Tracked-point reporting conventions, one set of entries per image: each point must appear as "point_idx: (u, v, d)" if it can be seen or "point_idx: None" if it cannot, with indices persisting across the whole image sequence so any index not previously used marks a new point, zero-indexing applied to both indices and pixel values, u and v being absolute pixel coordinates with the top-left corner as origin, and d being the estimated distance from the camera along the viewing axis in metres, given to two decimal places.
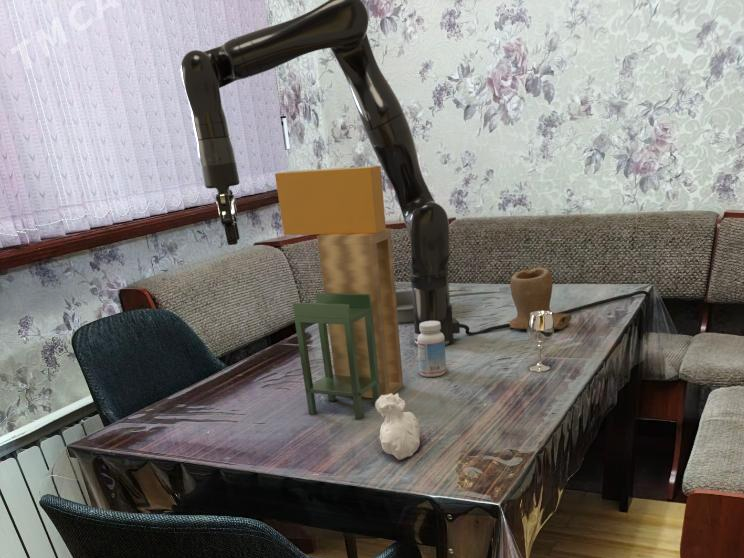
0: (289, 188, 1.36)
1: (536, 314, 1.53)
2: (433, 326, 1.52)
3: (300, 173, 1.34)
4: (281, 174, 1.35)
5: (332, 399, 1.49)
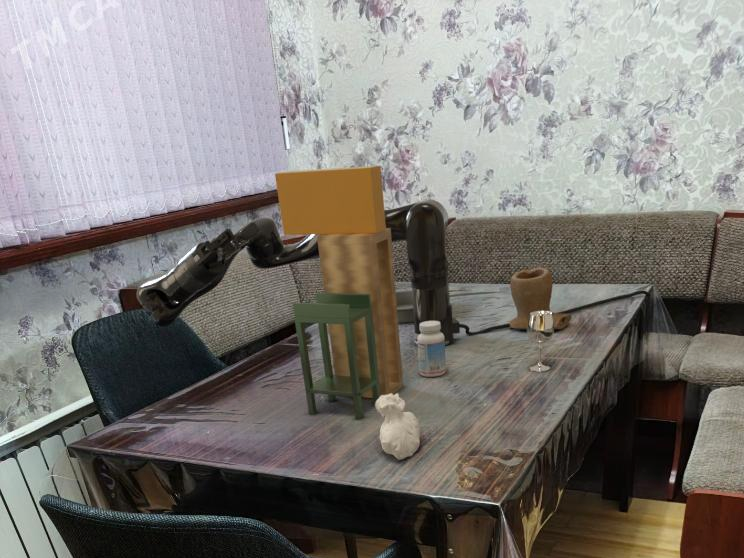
0: (289, 188, 1.36)
1: (536, 314, 1.53)
2: (433, 326, 1.52)
3: (300, 173, 1.34)
4: (281, 174, 1.35)
5: (332, 399, 1.49)
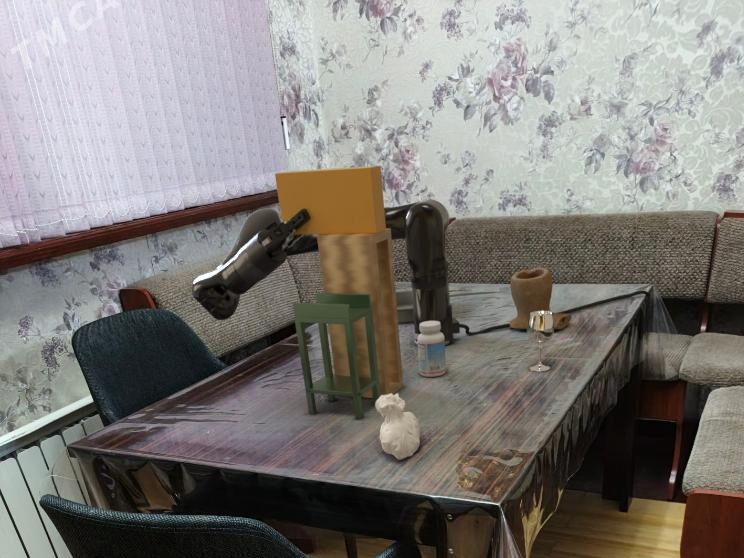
0: (289, 188, 1.36)
1: (536, 314, 1.53)
2: (433, 326, 1.52)
3: (300, 173, 1.34)
4: (281, 174, 1.35)
5: (332, 399, 1.49)
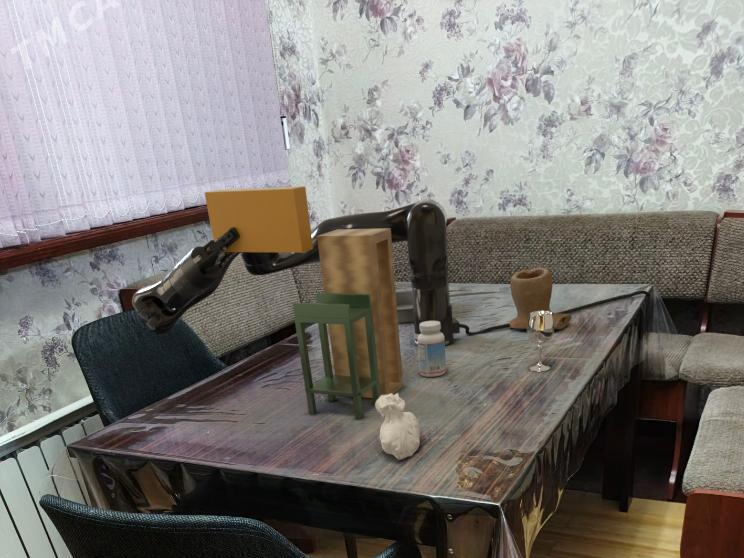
0: (218, 207, 1.38)
1: (536, 314, 1.53)
2: (433, 326, 1.52)
3: (228, 192, 1.36)
4: (210, 193, 1.37)
5: (332, 399, 1.49)
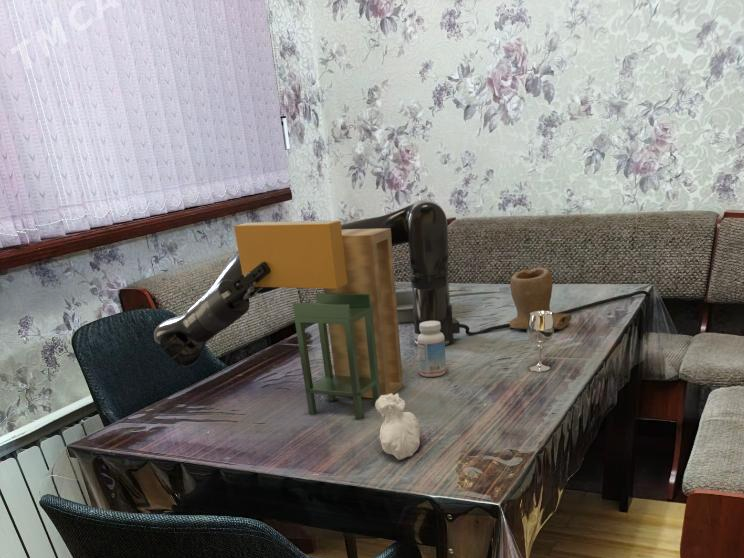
0: (248, 241, 1.33)
1: (536, 314, 1.53)
2: (433, 326, 1.52)
3: (259, 226, 1.30)
4: (240, 227, 1.32)
5: (332, 399, 1.49)
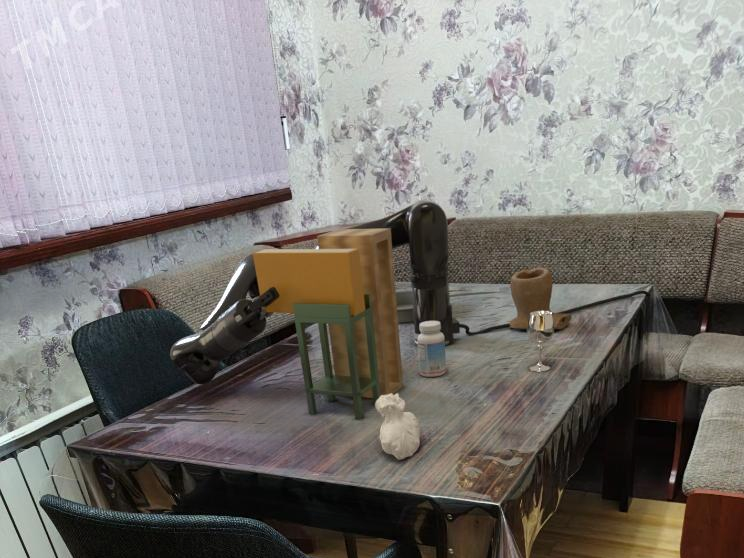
0: (267, 268, 1.34)
1: (536, 314, 1.53)
2: (433, 326, 1.52)
3: (278, 254, 1.32)
4: (259, 254, 1.33)
5: (332, 399, 1.49)
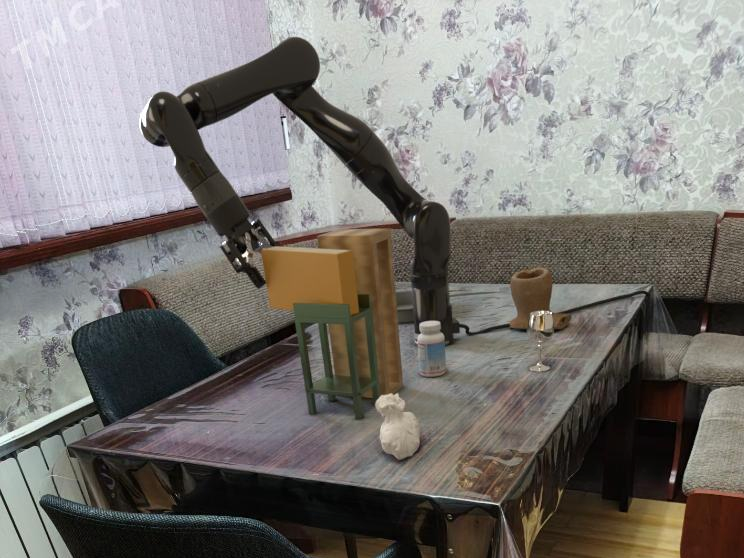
0: (272, 265, 1.36)
1: (536, 314, 1.53)
2: (433, 326, 1.52)
3: (280, 252, 1.33)
4: (265, 251, 1.36)
5: (332, 399, 1.49)
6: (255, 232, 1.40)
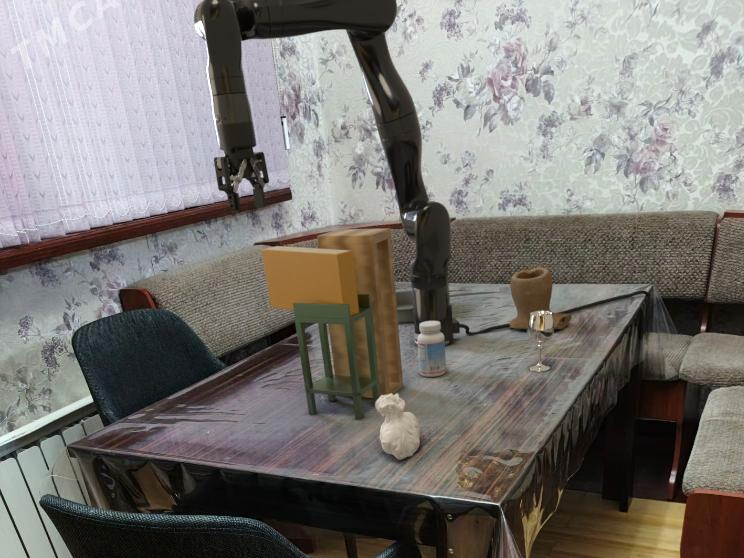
0: (273, 265, 1.37)
1: (536, 314, 1.53)
2: (433, 326, 1.52)
3: (281, 252, 1.34)
4: (266, 251, 1.36)
5: (332, 399, 1.49)
6: (253, 163, 1.45)
